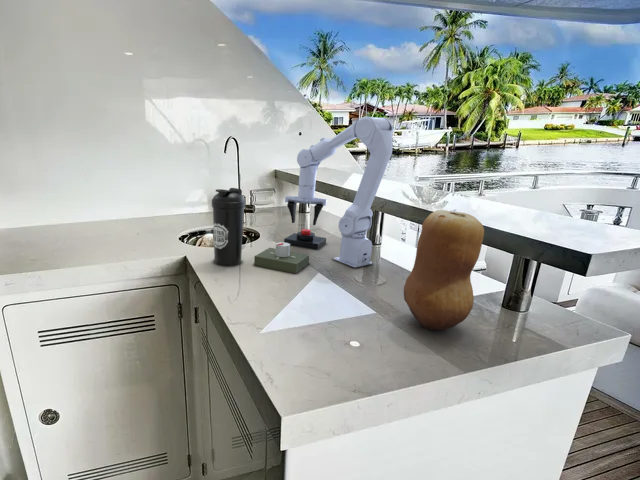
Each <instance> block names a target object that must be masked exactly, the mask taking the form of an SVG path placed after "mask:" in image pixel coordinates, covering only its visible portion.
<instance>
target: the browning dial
mask: <svg viewBox="0 0 640 480" xmlns="http://www.w3.org/2000/svg"><path fill="white" fill-rule="evenodd" d="M275 249H276V252H275V255H276V256H278V257H288V256H289V254H290V251H291V245H290V244H289V243H285V242H284V241H281V242H280V241H278V242H276V243H275Z"/></svg>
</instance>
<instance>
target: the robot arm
mask: <svg viewBox="0 0 640 480" xmlns="http://www.w3.org/2000/svg"><path fill="white" fill-rule="evenodd" d="M394 131H395V128H394V126H393V124H392V122H391V121H390V119H388V118H387V117H375V116H374V117H373V116H368V115H367V116H366V115H365V116H362V117H360V118H359V119H357V120H355V121H353V122H352V124H351V125H349V126H348V127H346V128H345V129H343V130H342V131H340V132H339V133H337V134H336V135H335V136H333V137H332V138H330V137H322V138H320V140H319V142H317V143H315V144H314V145H313V144H311V145H310V146H309V148H308V149H306V148H302V149H301V150H300V151H299V152H298V153H297V156H296V163H297V164H298V166H299V175H298V176H299V177H298V188H297V189H298V190H297V195H296V196H292V195H290V196H289V195H286V196H284V202H285V203H286V206H287V209H288V210H289V214H290V218H291V224H295V223H296V211H297V206H298V205H297V204H304V205H305V204H307V205H314V207H313V208H314V209H313V220H312V221H313V222H312V226H316V225H317V221H318V218H319V216H320V214H321V212H322V209H323V208H324V207H325V206H327V204H328V199H327V198H321V197H320V198H318V197H315V194H316V183H317V182H316V181H317V172H318V170H319V166H320V164H321V163H322V161H325V160H326V159H328V158H330V157H332V156H334V154H336V152H337V149H338V148H340V147H342V146H344V145H346V144H348V143H350V142H352V141H353V140H356V139H358V140H359V141H360V142H361V143H362V144H363V145H364V146H365V147H366V148H367V150H368V151H369V154H370V155H369V158H368V160H367V163H366V166H365V169H364V172H363V174H362V176H361V179H360V183H359V186H358V188H357V191H356V193H355V196H354V199H353V202H352V204H351V205H350V206H349V207H348V208H347V209H346V210H345V212H344V214H343V215H342V216H341V217H340V219H339V221H338V230H339V232H340V235H341V242H340V249H339V256H337V257H333V260H334V261H337V262H339V263H342V264H344V265H347V266H350V267H352V268H359V267H360V268H361V267H363V266H364V267H365V266H368V265H372V260H371V259H372V253H373V242H372V240H371V239H368V238H367V232H368V231H369V230H370V229H371V228H372V226H373V225H372V223H373V221H372V220H373V219H372V218H373V215H374V212H373V210H372V209H371V207H372V205H373V202H374V200H375V198H376V195H377V193H378V189H379V187H380V185H381V182H382V180H383V177H384V174H385V172H386V169H387V167H388V165H389V162H390V159H391V156H392V154H393V134H394Z"/></svg>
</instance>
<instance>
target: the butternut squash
mask: <svg viewBox="0 0 640 480" xmlns="http://www.w3.org/2000/svg"><path fill="white" fill-rule="evenodd" d="M484 237H485V228H484V226H483V223H482V222H480V220H479V219H478V218H477V217H475V216H473V215H472V214H469V213H466V212H461V211H450V210H443V209H438V210H435V211H432V212H431V213H430V214H429V215H428V216H427V217H426V218H425V219H424V220H423V222H422V224H421V232H420V234H419V237H418V241H417V244H416V253H415V259H414V264H413V267H412V269H411V272H410V273H409V274H408V276H407V278H406V280H405V282H404V284H403V300H404V301H405V303H406V305H407V306H408V308H409V311H410V312H411V314H412V316H413V317H414V319H415V320H416V321H417V322H418V323H419V325H420V326H422V327H423V328H425V330H429V331H430V330H434V331H446V330H449V329H451V328H454V327H456V326H457V325H459V324H460V323H462V322H464V321H465V320H466V319H467V318H468V317H469V316H470V314H471V311H472V310H473V308H474V299H475V298H474V290H473V285H472V281H471V275H472V272H473V270H474V268H475V266H476V264H477V262H478V261H479V258H480V254H481V251H482V245H483V242H484Z"/></svg>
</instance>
